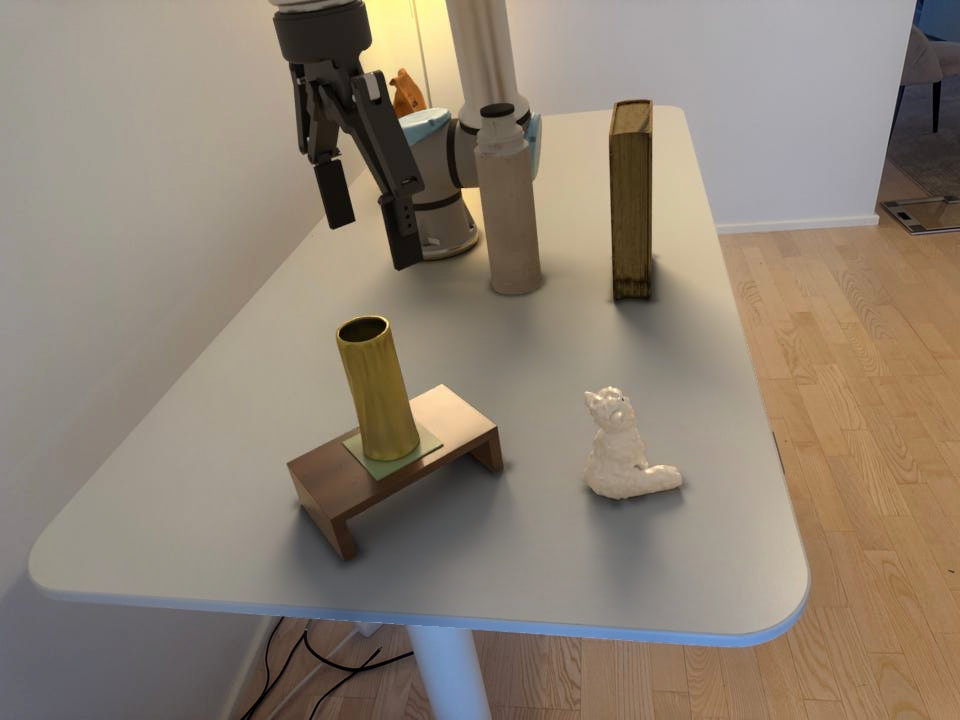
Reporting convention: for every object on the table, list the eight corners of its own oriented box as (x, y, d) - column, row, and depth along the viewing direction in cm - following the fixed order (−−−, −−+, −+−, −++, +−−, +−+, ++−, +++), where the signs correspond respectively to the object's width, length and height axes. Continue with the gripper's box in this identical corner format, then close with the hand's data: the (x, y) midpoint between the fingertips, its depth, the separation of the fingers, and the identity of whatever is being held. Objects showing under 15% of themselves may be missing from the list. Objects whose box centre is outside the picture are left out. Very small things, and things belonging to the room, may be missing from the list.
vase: (364, 429, 79) (333, 318, 71) (419, 420, 79) (394, 308, 71) (361, 466, 74) (327, 350, 66) (420, 457, 74) (393, 340, 66)
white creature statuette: (686, 486, 74) (690, 393, 67) (623, 526, 71) (621, 432, 64) (623, 441, 81) (621, 353, 74) (563, 475, 78) (555, 386, 71)
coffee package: (389, 181, 165) (369, 82, 153) (402, 163, 175) (384, 68, 163) (431, 178, 163) (413, 77, 151) (442, 160, 173) (426, 64, 161)
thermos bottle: (504, 269, 120) (483, 98, 105) (548, 273, 117) (533, 97, 102) (484, 292, 115) (459, 114, 99) (530, 297, 111) (511, 114, 96)
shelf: (300, 503, 79) (285, 461, 76) (450, 423, 88) (442, 381, 84) (344, 562, 71) (329, 518, 68) (503, 467, 80) (497, 424, 77)
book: (618, 254, 120) (614, 101, 106) (651, 253, 118) (652, 98, 105) (613, 303, 107) (608, 135, 93) (651, 303, 105) (652, 132, 92)
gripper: (222, 5, 65) (288, 222, 77) (344, 21, 47) (405, 301, 59) (298, -12, 68) (350, 200, 80) (439, -2, 50) (479, 268, 62)
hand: (373, 243), depth 69 cm, fingers open, 13 cm apart
